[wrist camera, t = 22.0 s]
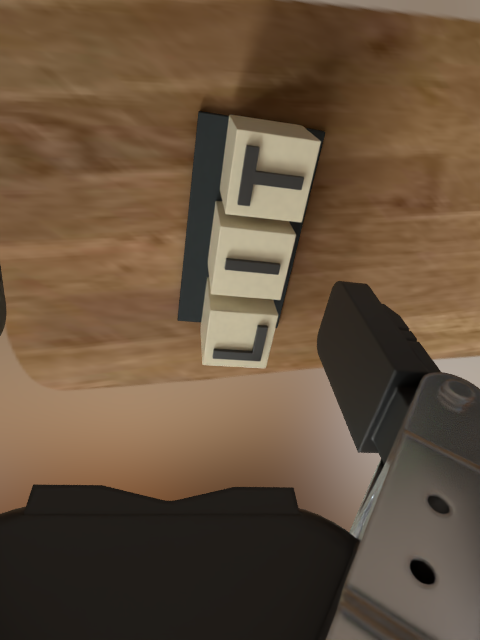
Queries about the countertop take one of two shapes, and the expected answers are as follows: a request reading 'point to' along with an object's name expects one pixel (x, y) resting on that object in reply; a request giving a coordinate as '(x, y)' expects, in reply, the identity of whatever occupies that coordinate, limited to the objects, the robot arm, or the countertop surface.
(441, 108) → the countertop surface
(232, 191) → the tile
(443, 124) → the countertop surface
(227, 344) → the tile
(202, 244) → the word mat
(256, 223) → the tile
